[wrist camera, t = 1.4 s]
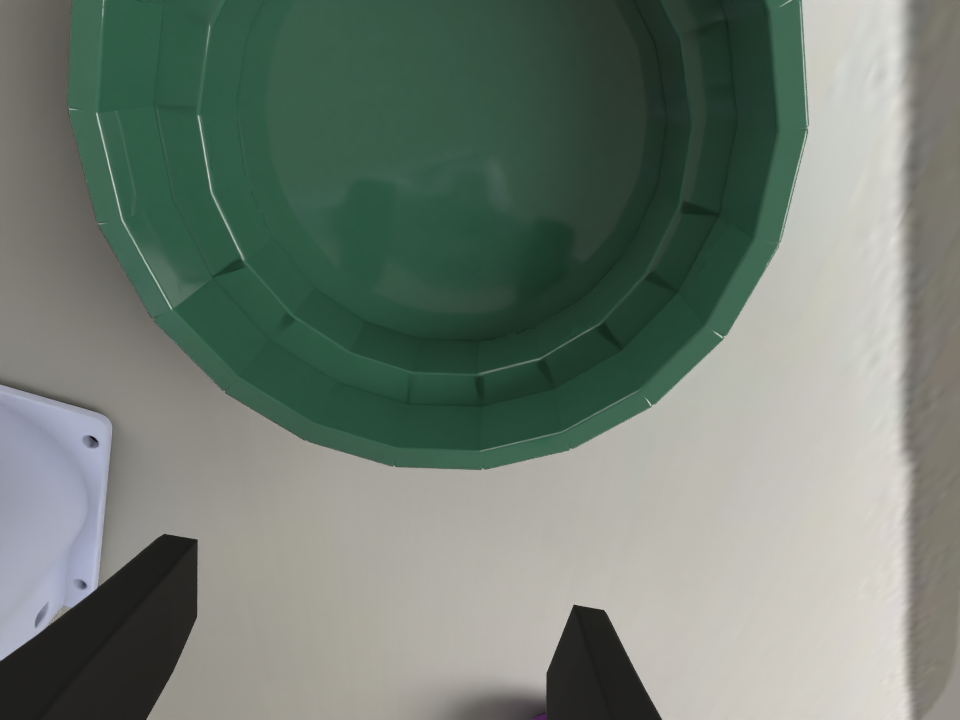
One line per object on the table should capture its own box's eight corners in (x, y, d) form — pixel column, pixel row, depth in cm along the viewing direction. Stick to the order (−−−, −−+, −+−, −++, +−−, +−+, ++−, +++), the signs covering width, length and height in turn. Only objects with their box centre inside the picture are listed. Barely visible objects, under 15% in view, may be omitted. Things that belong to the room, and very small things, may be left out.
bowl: (586, 428, 21) (611, 533, 16) (160, 293, 19) (54, 368, 14) (830, -47, 14) (979, -93, 10) (233, -316, 13) (89, -519, 8)
